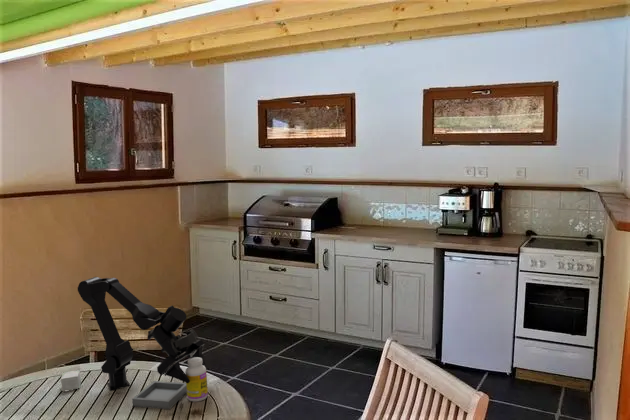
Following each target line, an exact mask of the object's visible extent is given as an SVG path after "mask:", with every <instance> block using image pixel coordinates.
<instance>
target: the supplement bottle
mask: <svg viewBox="0 0 630 420" xmlns="http://www.w3.org/2000/svg"><path fill="white" fill-rule="evenodd" d="M202 363H203V361H202V358H200V357H194V358H191V357H189V359H187V366H188V367H187V368H186V369H185V372H184V373H185V374H186V375H187V377H188V378H189V380H190V382H189V383H186V382H185V383H186V386H187V393H186V397H187V400H188V401H190V402H201V401H203V400H205V399H207V398H208V395H209V389H208V374H207V370H206V367H207V366H206V367H205V366H204V365H202Z"/></svg>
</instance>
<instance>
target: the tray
mask: <svg viewBox="0 0 630 420" xmlns="http://www.w3.org/2000/svg"><path fill="white" fill-rule="evenodd" d="M185 395H187V386H186V382H178V381H177V382H175V381H174V382H173V381H163V380H162V381H160V380H152V382H151V383H149V384H148V385H146V386H145V388H143V389H142V390H141V391H140V392H139V393H137V394H136V395H135V396H134V397H132V399H131V400H132V407H137V408H138V407H139V408H140V407H141V408H151V409H161V410H162V409H164V410H170V409H171V408H173V406H174V405H176V403H177V402H179V400H180V399H182V397H184V396H185Z"/></svg>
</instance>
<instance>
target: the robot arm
mask: <svg viewBox="0 0 630 420" xmlns="http://www.w3.org/2000/svg"><path fill="white" fill-rule="evenodd" d="M77 292H78V295H79V296H80V298H81V300H82V301H83V302H84V303H86V304H87V305H89V307H90V308H91V311H92V313H93V316H94V317H95V320H96V323H97V325H98V328H99V329H100V331H101V332H100V333H101V334H102V336H103V337H102V338H103V339H104V341H105V352H104V353H105V354H104V355H105V358H106V361H105V362H104V363H103V365H101V368H100V369H101V371H102V373H103V374H107V375H108V382H107V383H106V385H107V387H108V389H109V391H111V392H112V391H115V390H120V389H122V388H126V387H130V385H131V384H130V383H129V381H128V379H127V378H128V377H127V369H126V368H127V366H130V365H131V361H132V359H133V357H134V352H133V351H134V348H133V347H132V346H131V342H130V341H129V339H128V340H127V339H126V340H124V339H123V338H122V337H121V335H120V333H119V331H118V328H117V326H116V323H115V321H114V319H113V317H112V314H111V312H110V309H109V307H108V305H107V301H106V294H108V295H110V296H111V297H112V298H113V299H114V300H115V301H117V302H118V304H120V305H121V306H122V307H123V308H124V309H125V310H126V311H127V312H129V313H130V315H131V317H132V320H133V322H134V323H135V324H136V325H137V327H138V328H139V329H141V330H142V331H145V330H148V331H147V333H148V334H147V340H151V339H154V340H155V341H156V342H157V344H158V345H159V346H160V348H161V349H160V352H161V353H162V354H163V353H166V354H167V357H166V358H165V357H164V358H163V359H162V361H161V362H160V363H159V365H158V366H157V367H156V372H157V373H158V374H159V375H160V376H164V377H166V376H168V377H171V378H174V379H175V380H176V379H177V380H178V381H181V382H182V383H189V382H190V380H189V378H188V377H187V375H186V374H185V372H184V370H183V369H182V368H181V365H180V364H181V363H180V361H181V360H183V359H185V358H186V357H187V358H194V357H200V358H202V361H203V363H202V365H204V366H205V367H206V371H207V370H208V368H207V365H206V363H205V360H204V357H203V349H204V346H205V342H203V340H202V339H197V338H198V334H197V332H196V331H195V330H194V329H190V330H188V331H186V335H185V336H181V335H180V334H178V335H176V334H175V333H174V332H177V330H178V329H180V327H181V325H183V323H184V322H185V321H186V320H187V314H186V312H185V311H184V310H183V309H181V308H178V307H175V306H174V305H171V306H169V307H167V308H166V311H165V312H164V311H159V309H158V308H156V307H154V306H152V305H150V304H148V303H144V302H143V301H141V300H140V299H139V298H138V297H136V296H135V295H134V294H133V293H132V292H131V291H130V290H129V289H127V288H126V287H125V286H124V285H123V284H122V283H120V281H119V279H118V278H116V277H105V278H101V277H98V276H93V277H91V278H88V279H84V280H82V281H80V282H79V284H78V286H77ZM153 327H154V328H153ZM151 328H153V329H151ZM149 329H150V330H149Z"/></svg>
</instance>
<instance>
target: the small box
mask: <svg viewBox="0 0 630 420" xmlns="http://www.w3.org/2000/svg"><path fill="white" fill-rule="evenodd" d="M81 379H82V378H81V371H80V369H79V370H73V371H72V370H71V371H67V372H66V371H65V372H63V373H62V374H61V377H60V385H61V392H62V391H65V390H71V391H73V390H72V389H77V390H79V389H78V388H81V385H82V380H81ZM65 392H66V391H65Z"/></svg>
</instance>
